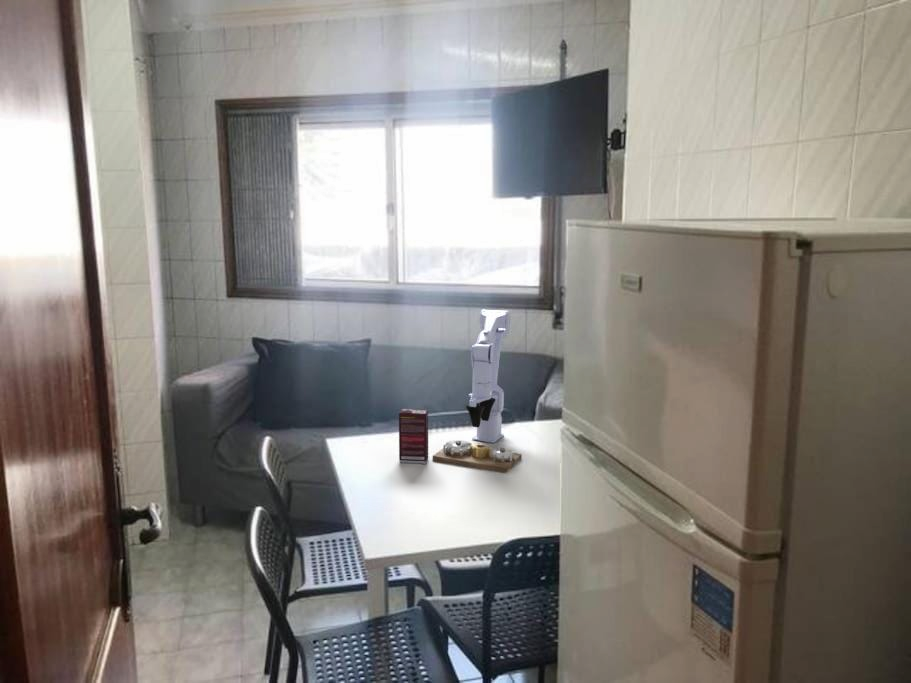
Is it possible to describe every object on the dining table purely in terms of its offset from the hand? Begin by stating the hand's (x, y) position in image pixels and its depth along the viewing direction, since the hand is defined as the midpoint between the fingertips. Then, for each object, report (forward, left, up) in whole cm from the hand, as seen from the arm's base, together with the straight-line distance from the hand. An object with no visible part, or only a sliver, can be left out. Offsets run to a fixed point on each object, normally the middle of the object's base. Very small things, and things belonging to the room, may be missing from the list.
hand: (480, 423), depth 239 cm
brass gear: (+7, +3, -8) cm, 11 cm away
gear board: (+7, +2, -9) cm, 12 cm away
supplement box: (+17, -15, -10) cm, 25 cm away
